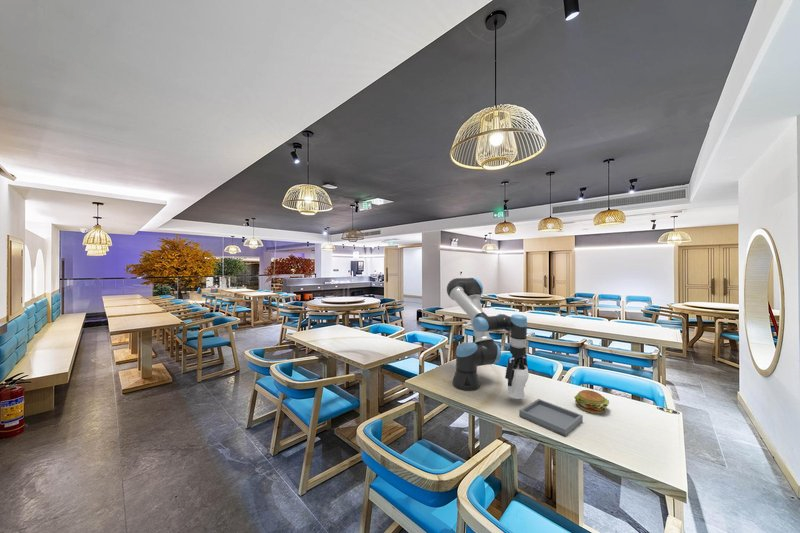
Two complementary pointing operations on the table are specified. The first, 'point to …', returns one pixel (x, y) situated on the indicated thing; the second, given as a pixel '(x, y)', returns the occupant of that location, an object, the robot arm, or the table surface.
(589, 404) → the food
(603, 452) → the table surface
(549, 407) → the tray
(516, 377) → the cup
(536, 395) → the table surface
